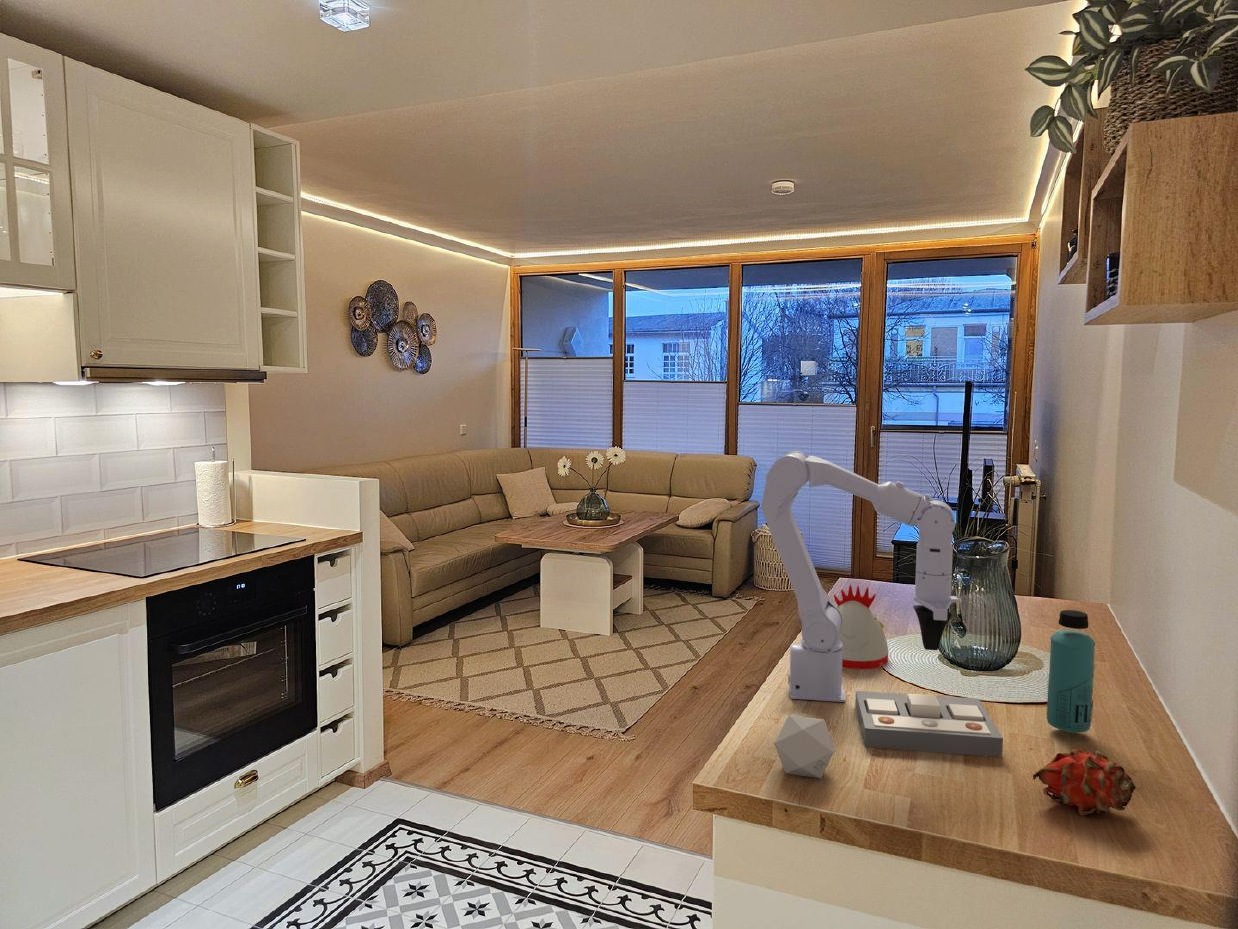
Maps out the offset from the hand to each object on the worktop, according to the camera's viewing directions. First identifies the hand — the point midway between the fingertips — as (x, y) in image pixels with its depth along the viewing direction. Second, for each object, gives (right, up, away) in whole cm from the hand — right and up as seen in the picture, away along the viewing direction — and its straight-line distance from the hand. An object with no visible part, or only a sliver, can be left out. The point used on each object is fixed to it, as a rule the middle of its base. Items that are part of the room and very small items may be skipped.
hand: (930, 648), depth 140 cm
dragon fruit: (+8, -14, -32) cm, 36 cm away
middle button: (-4, -9, -7) cm, 12 cm away
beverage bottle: (+18, -12, -9) cm, 24 cm away
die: (-27, -13, -21) cm, 36 cm away
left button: (-10, -10, -6) cm, 16 cm away
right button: (+2, -10, -9) cm, 13 cm away
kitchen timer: (-6, -8, +26) cm, 28 cm away
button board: (-4, -11, -8) cm, 15 cm away
